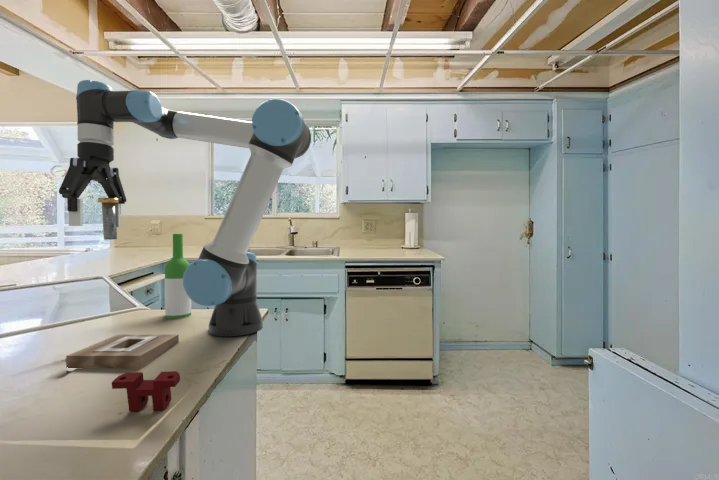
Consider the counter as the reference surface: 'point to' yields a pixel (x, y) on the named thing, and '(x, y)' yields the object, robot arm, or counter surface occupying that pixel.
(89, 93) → the robot arm
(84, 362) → the wooden square socket block
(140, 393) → the bracket
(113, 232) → the flanged metal peg
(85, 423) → the counter surface
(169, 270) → the wine bottle
